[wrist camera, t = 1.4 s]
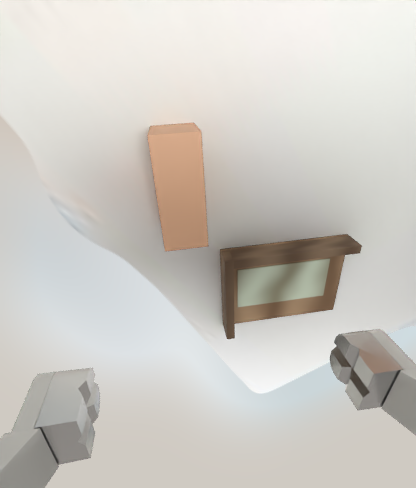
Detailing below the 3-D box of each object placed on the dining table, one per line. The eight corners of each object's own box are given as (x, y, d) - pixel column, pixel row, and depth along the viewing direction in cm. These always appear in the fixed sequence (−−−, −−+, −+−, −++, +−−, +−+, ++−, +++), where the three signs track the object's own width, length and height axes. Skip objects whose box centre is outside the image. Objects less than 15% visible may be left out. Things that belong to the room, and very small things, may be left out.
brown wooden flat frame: (347, 234, 35) (361, 245, 32) (331, 307, 40) (342, 321, 38) (220, 249, 33) (224, 262, 31) (222, 323, 39) (227, 339, 36)
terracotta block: (193, 122, 26) (201, 131, 21) (200, 219, 31) (208, 246, 26) (150, 125, 26) (147, 135, 21) (164, 223, 31) (165, 251, 26)
